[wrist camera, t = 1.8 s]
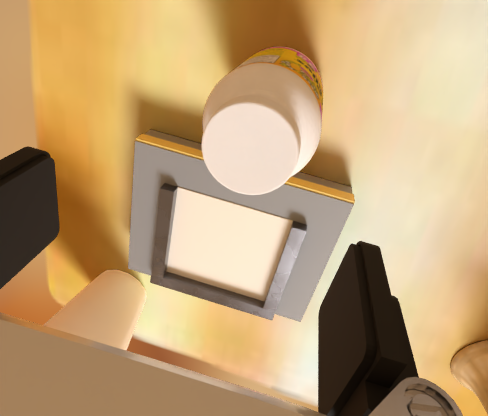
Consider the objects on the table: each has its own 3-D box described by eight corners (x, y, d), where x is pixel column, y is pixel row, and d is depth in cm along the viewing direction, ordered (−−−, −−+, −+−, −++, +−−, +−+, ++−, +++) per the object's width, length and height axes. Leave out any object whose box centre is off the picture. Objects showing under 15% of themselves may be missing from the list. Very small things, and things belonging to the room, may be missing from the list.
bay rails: (307, 224, 30) (306, 231, 29) (273, 312, 35) (271, 320, 35) (164, 182, 30) (160, 188, 29) (154, 275, 36) (150, 282, 35)
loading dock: (352, 184, 30) (354, 202, 28) (302, 299, 38) (300, 322, 35) (150, 127, 31) (134, 139, 29) (141, 250, 39) (127, 269, 36)
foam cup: (84, 304, 45) (7, 402, 34) (84, 248, 40) (-7, 343, 29) (155, 327, 45) (100, 434, 34) (163, 274, 40) (102, 380, 29)
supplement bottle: (329, 124, 28) (331, 205, 17) (249, 140, 30) (205, 221, 19) (315, 32, 25) (306, 61, 14) (226, 57, 27) (160, 98, 16)
